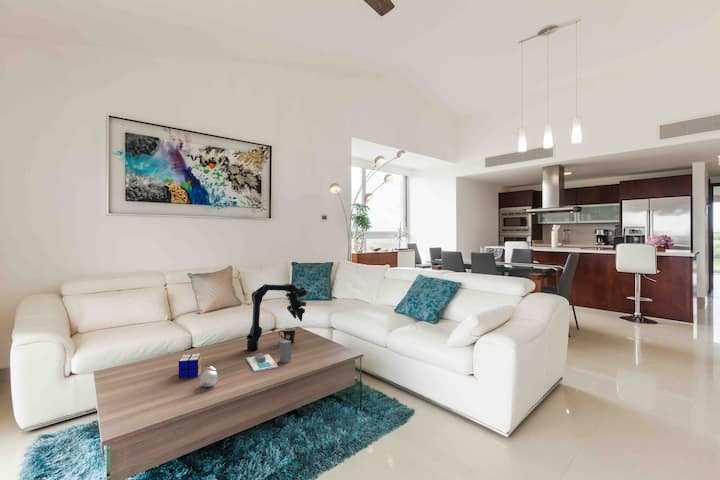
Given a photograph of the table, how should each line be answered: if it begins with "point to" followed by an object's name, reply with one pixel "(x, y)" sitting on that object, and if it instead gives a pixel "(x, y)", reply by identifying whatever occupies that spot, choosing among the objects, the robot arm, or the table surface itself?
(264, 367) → the baseplate
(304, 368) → the table surface
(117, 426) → the table surface
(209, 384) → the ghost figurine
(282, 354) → the pillar
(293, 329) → the coffee mug
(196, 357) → the puzzle cube
